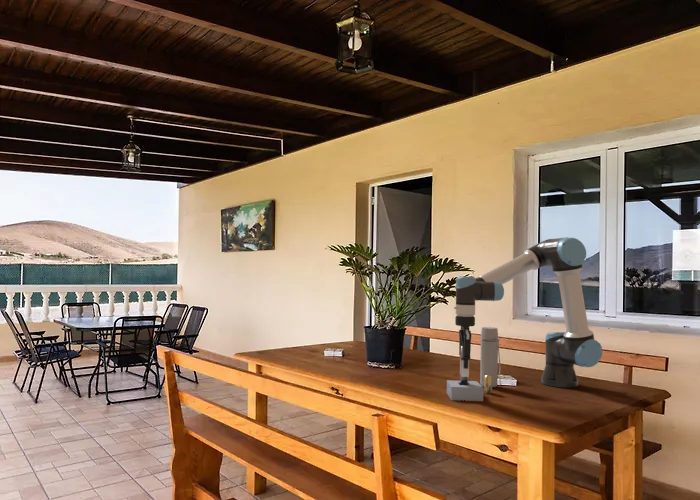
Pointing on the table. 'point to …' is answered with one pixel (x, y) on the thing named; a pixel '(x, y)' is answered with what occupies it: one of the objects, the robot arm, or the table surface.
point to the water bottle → (489, 355)
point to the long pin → (462, 379)
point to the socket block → (465, 391)
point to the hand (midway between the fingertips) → (464, 375)
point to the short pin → (488, 384)
